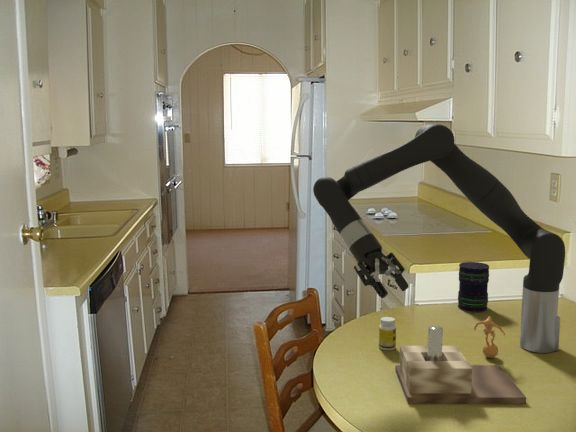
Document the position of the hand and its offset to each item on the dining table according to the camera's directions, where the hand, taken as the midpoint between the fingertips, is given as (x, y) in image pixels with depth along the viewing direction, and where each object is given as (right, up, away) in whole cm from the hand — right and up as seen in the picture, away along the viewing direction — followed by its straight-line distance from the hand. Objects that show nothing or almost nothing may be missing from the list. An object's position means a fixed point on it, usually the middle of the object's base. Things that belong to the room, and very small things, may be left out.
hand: (395, 292), depth 147 cm
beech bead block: (+8, -20, -6) cm, 22 cm away
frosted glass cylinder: (+8, -20, -6) cm, 22 cm away
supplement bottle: (+1, -18, +19) cm, 27 cm away
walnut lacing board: (+14, -22, -6) cm, 26 cm away
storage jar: (+36, -12, +54) cm, 67 cm away
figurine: (+27, -19, +11) cm, 35 cm away
